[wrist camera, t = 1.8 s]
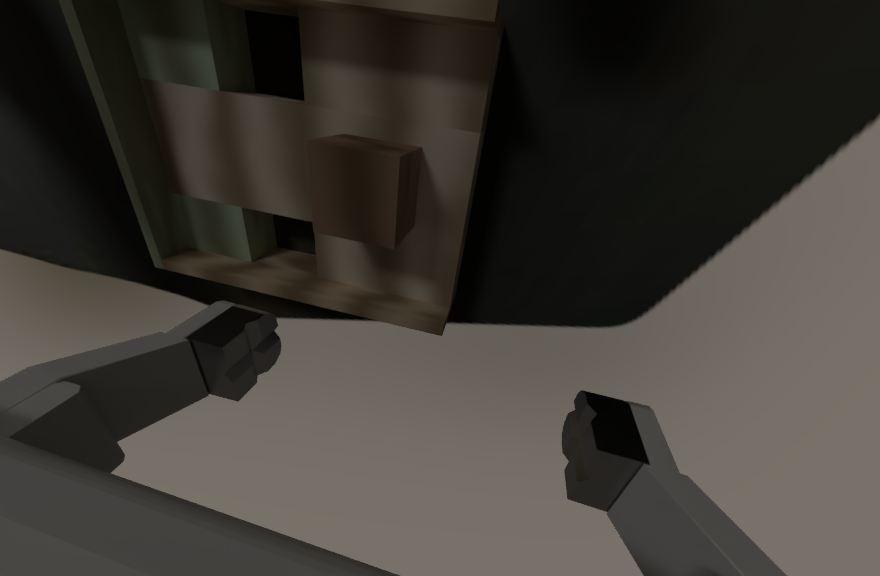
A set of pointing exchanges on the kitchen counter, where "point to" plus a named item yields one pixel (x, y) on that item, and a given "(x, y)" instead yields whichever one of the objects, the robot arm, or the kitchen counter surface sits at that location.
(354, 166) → the walnut block
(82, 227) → the kitchen counter surface
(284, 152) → the tray
